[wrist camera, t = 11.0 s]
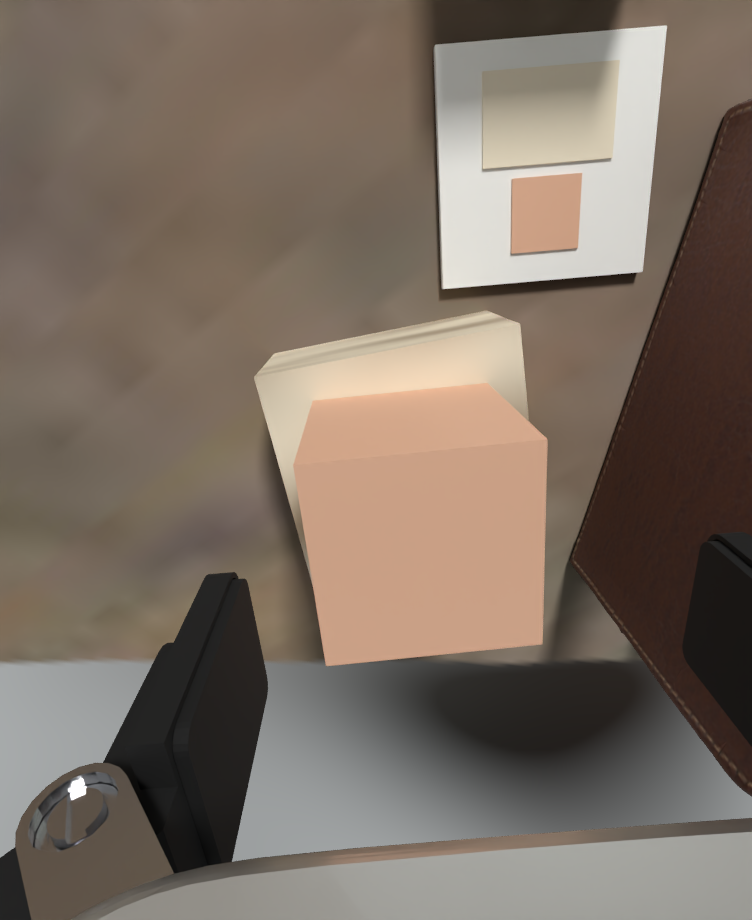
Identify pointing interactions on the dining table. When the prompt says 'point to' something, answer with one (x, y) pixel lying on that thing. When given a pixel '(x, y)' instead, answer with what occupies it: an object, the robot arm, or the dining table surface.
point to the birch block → (386, 375)
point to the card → (546, 154)
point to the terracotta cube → (423, 523)
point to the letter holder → (684, 446)
